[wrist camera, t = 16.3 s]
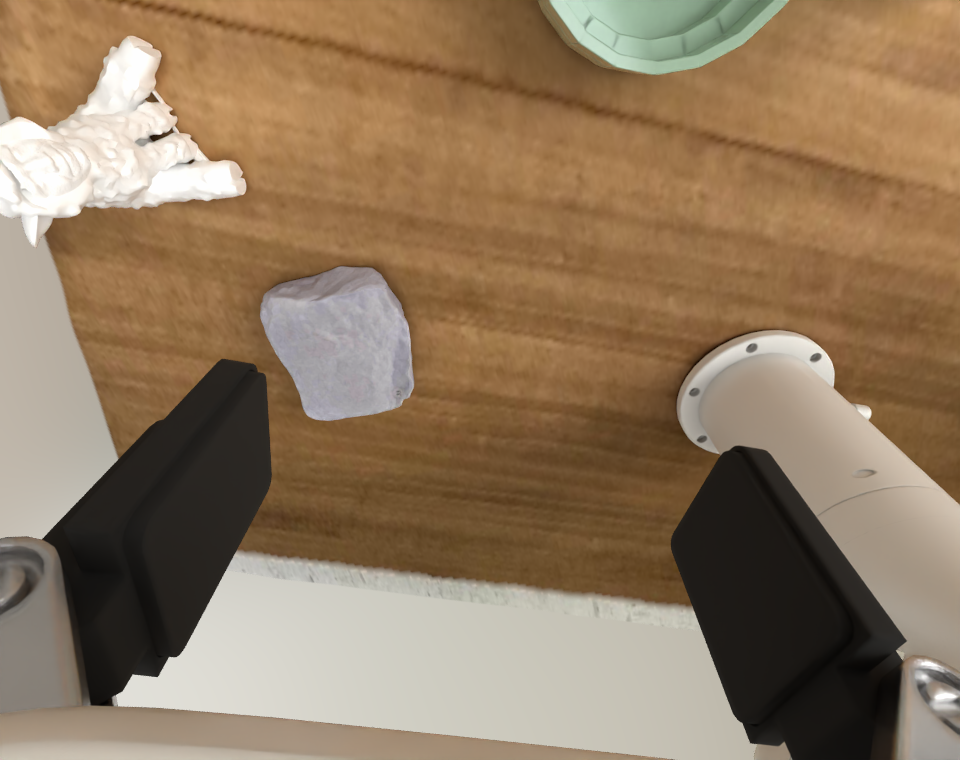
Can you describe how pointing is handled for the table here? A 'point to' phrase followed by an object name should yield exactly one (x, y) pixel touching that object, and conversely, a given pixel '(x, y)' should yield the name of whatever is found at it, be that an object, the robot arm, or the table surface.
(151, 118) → the white creature statuette
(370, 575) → the table surface
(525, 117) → the table surface
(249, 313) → the table surface
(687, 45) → the bowl
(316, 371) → the stone block
